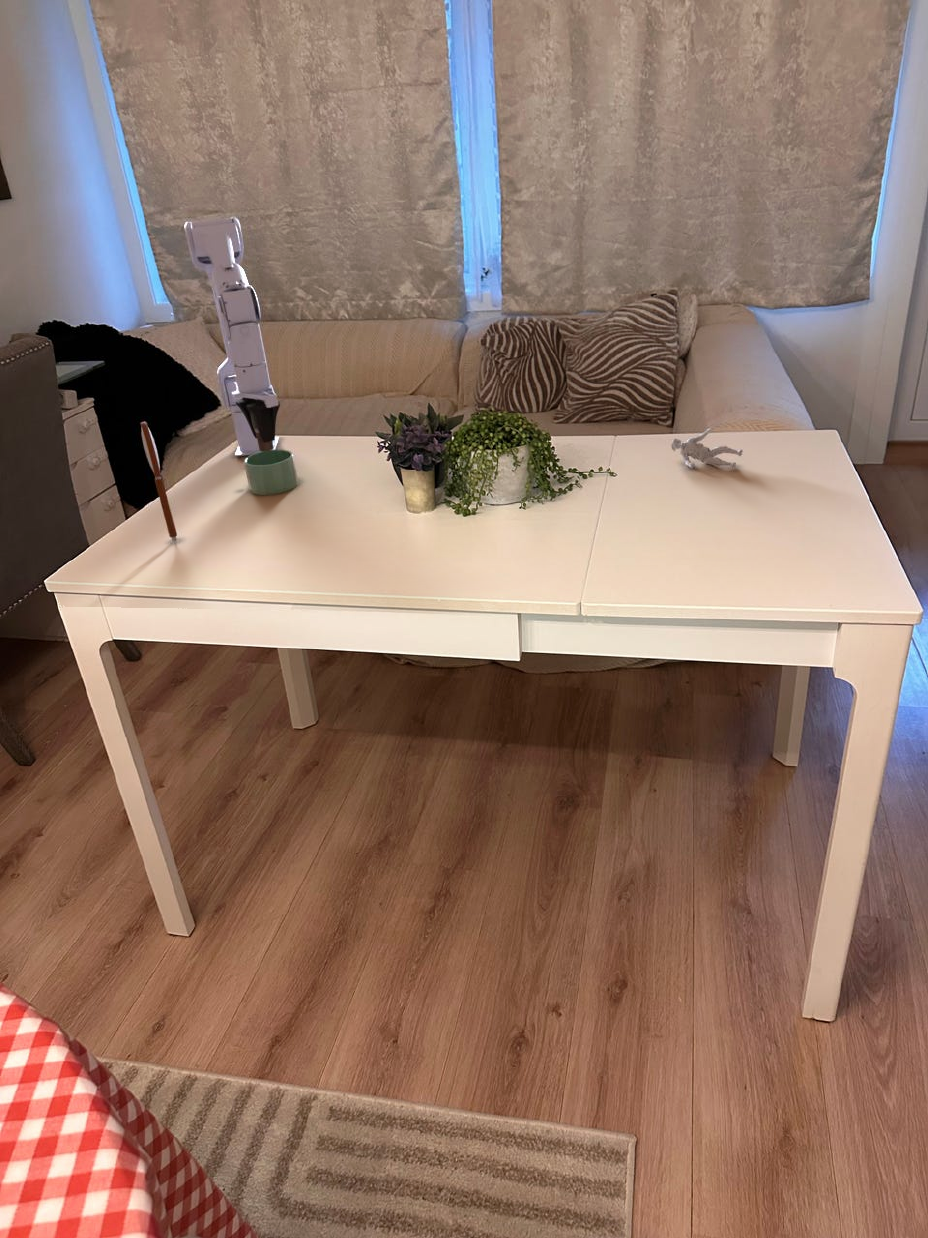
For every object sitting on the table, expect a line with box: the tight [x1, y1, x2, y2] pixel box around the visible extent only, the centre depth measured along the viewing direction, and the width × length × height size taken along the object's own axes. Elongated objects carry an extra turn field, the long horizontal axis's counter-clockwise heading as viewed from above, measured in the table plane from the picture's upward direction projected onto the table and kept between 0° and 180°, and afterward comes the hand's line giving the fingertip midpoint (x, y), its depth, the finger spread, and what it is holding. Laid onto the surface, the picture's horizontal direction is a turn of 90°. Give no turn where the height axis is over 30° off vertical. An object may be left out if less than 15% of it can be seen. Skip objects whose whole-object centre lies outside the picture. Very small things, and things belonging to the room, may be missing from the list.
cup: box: [243, 449, 299, 496], centre depth 168 cm, size 9×9×6 cm
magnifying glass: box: [140, 421, 178, 542], centre depth 145 cm, size 9×2×20 cm, turn 22°
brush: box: [250, 413, 274, 451], centre depth 164 cm, size 3×3×7 cm
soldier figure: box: [670, 428, 744, 469], centre depth 159 cm, size 8×5×12 cm
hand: (264, 438), depth 165 cm, fingers closed on brush, 3 cm apart
